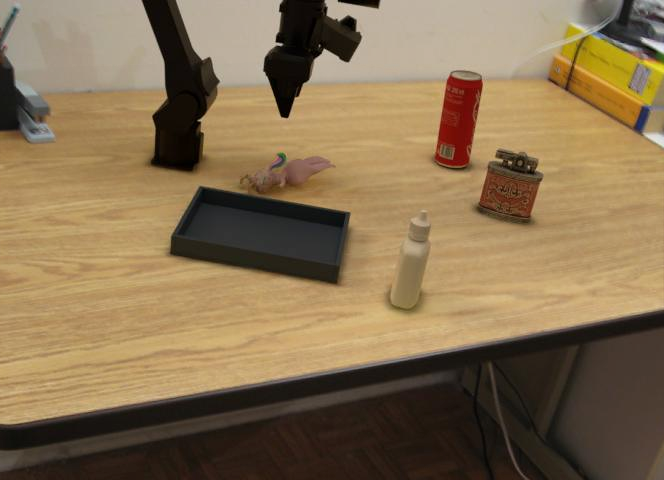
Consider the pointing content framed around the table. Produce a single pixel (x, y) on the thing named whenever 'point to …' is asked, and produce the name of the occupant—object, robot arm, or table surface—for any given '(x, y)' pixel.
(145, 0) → the robot arm
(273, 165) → the rabbit figure
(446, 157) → the beverage can
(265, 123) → the table surface
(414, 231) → the eye dropper bottle
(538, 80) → the table surface
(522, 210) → the lighter
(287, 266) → the desk tray
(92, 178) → the table surface
